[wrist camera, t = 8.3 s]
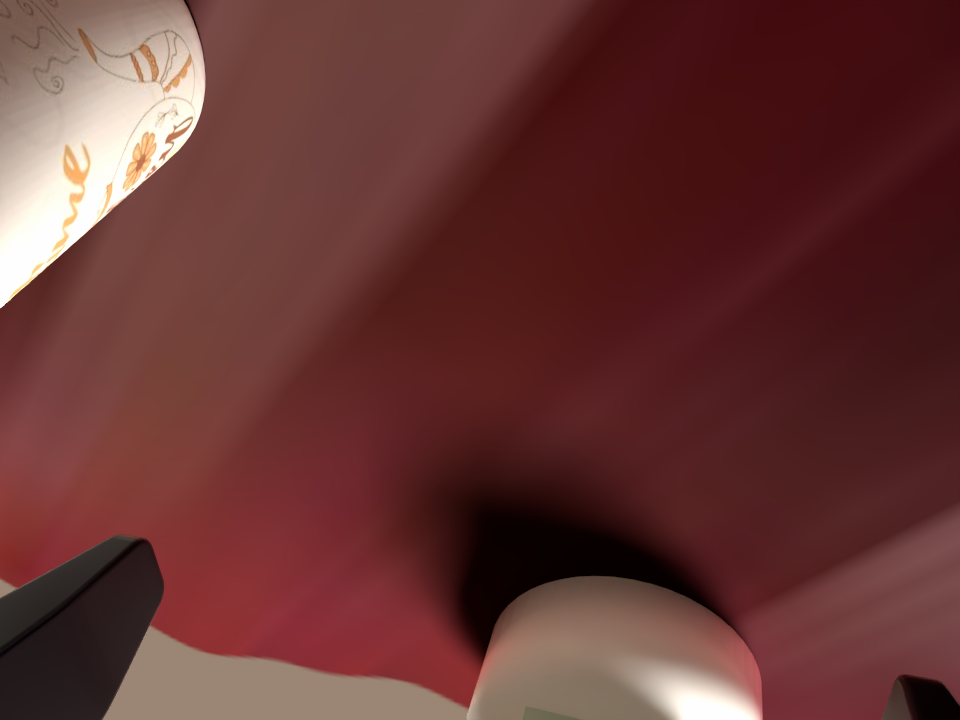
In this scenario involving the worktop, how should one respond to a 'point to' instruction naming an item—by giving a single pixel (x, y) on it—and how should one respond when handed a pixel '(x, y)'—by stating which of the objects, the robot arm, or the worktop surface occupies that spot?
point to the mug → (86, 116)
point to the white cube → (544, 715)
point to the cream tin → (615, 656)
